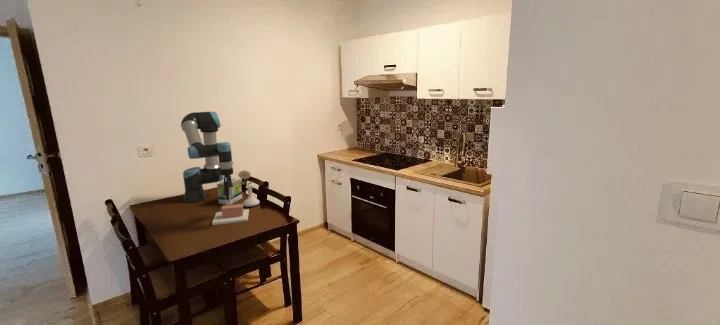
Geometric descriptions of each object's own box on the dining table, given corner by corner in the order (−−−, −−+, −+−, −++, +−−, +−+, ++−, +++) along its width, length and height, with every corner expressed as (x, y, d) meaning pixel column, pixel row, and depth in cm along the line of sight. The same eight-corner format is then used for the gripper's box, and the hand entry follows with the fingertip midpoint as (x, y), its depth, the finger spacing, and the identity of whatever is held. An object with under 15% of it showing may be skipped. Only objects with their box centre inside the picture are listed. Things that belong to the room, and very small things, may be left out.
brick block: (242, 206, 205) (221, 209, 202) (242, 216, 207) (222, 218, 204) (242, 203, 211) (222, 205, 208) (243, 212, 212) (223, 214, 209)
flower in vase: (262, 202, 235) (259, 168, 230) (255, 208, 224) (252, 172, 219) (244, 202, 237) (241, 168, 231) (237, 207, 225) (233, 172, 220)
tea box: (231, 204, 232) (229, 184, 229) (218, 204, 234) (216, 184, 231) (242, 198, 246) (241, 178, 243) (230, 197, 248) (228, 178, 245)
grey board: (216, 214, 214) (216, 212, 214) (249, 211, 219) (249, 209, 219) (212, 225, 197) (211, 222, 197) (247, 221, 202) (247, 219, 202)
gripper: (230, 172, 190) (234, 207, 195) (234, 162, 214) (237, 194, 219) (216, 173, 188) (220, 208, 193) (222, 163, 212) (225, 195, 217)
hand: (229, 201), depth 206 cm, fingers open, 13 cm apart
